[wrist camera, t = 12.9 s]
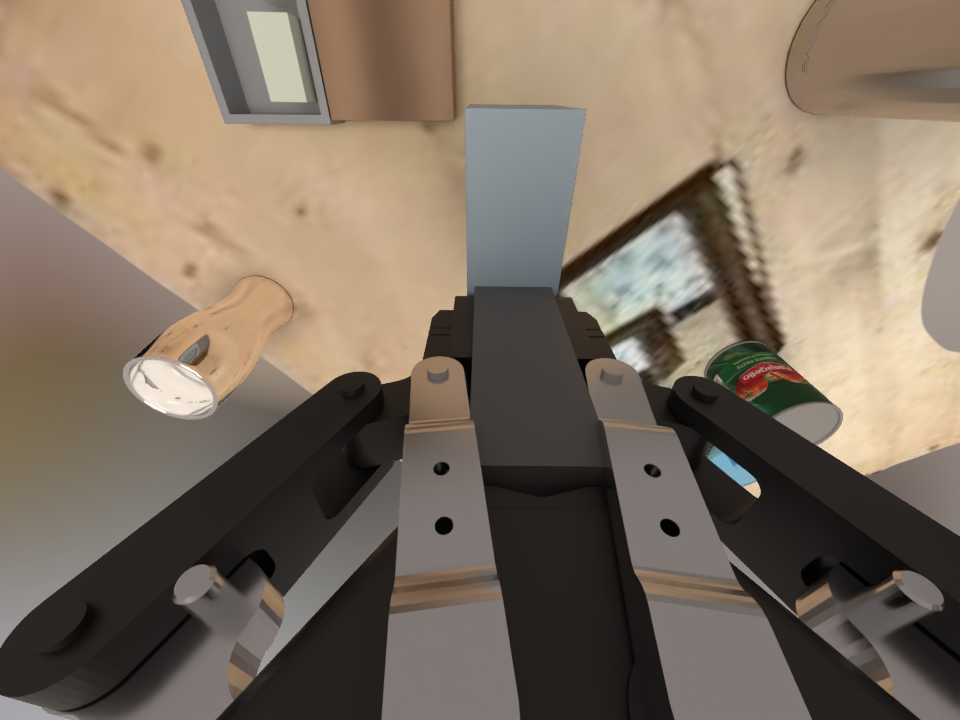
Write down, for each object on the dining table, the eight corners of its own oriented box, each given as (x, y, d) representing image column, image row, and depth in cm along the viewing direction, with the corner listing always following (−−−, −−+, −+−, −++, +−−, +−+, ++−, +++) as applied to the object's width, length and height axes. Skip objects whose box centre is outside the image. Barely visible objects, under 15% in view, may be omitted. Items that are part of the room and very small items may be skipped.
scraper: (553, 105, 13) (774, 134, 3) (524, 367, 20) (564, 619, 10) (470, 104, 13) (434, 131, 3) (471, 366, 20) (462, 618, 10)
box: (299, -123, 22) (273, -155, 19) (345, 121, 29) (331, 124, 27) (170, -124, 22) (125, -156, 19) (249, 121, 29) (224, 123, 27)
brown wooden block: (449, -114, 22) (444, -150, 19) (456, 118, 29) (453, 120, 26) (306, -115, 22) (276, -151, 19) (348, 117, 29) (331, 120, 26)
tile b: (287, 12, 22) (246, 11, 22) (307, 102, 25) (270, 101, 24) (314, 24, 25) (279, 23, 25) (329, 101, 28) (297, 101, 28)
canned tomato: (755, 328, 42) (829, 390, 33) (781, 364, 45) (855, 429, 36) (692, 367, 45) (744, 433, 36) (720, 397, 48) (774, 464, 40)
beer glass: (296, 280, 38) (212, 365, 26) (298, 333, 42) (226, 428, 30) (226, 264, 37) (105, 345, 25) (236, 320, 41) (134, 412, 29)
